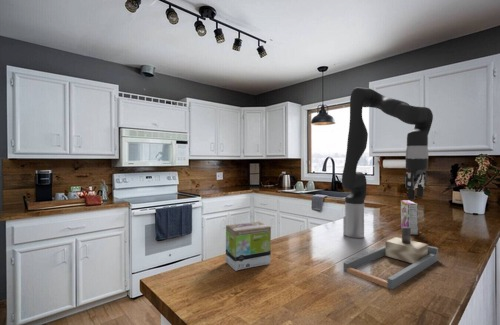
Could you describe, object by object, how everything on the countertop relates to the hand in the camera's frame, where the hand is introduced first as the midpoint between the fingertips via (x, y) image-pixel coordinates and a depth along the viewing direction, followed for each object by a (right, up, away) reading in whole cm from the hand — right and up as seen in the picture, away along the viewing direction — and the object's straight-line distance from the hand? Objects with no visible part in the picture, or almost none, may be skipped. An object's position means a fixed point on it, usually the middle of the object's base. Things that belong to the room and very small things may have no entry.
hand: (415, 198), depth 105 cm
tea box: (-67, -25, -3) cm, 71 cm away
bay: (-13, -25, -6) cm, 28 cm away
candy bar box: (+21, -24, +39) cm, 50 cm away
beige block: (-3, -24, +1) cm, 25 cm away
